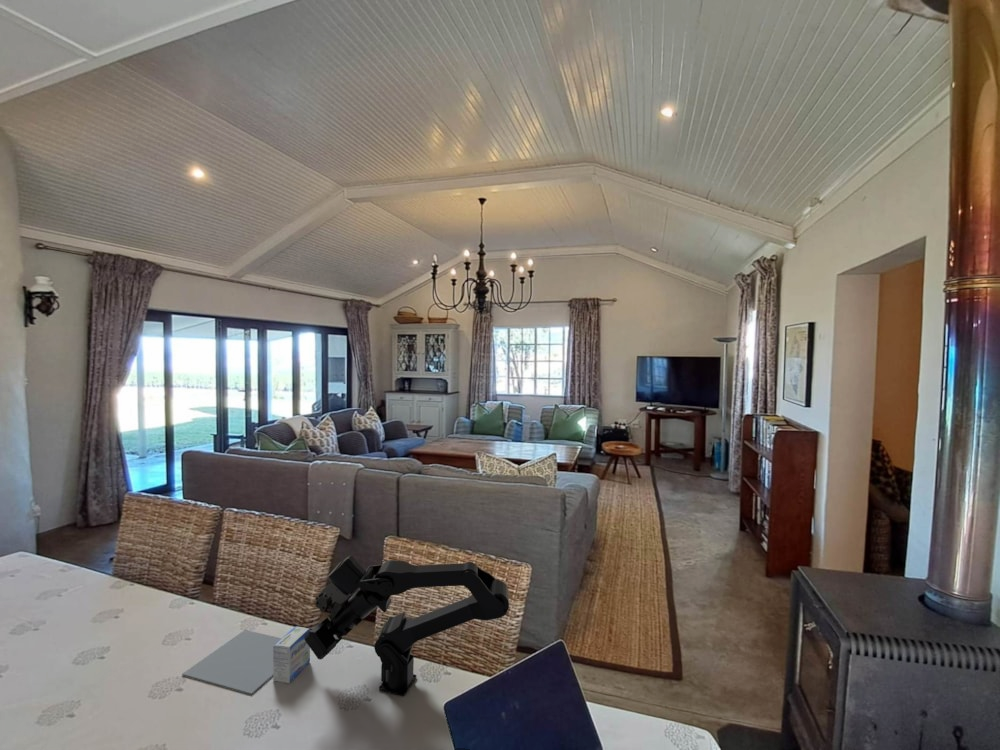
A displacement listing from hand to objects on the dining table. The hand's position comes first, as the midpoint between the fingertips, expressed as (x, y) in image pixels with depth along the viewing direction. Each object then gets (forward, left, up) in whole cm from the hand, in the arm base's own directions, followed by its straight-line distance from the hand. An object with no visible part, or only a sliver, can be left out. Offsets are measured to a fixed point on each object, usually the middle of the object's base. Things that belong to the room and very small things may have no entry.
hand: (318, 642), depth 108 cm
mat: (+19, +2, -7) cm, 20 cm away
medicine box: (+6, +2, -7) cm, 10 cm away
